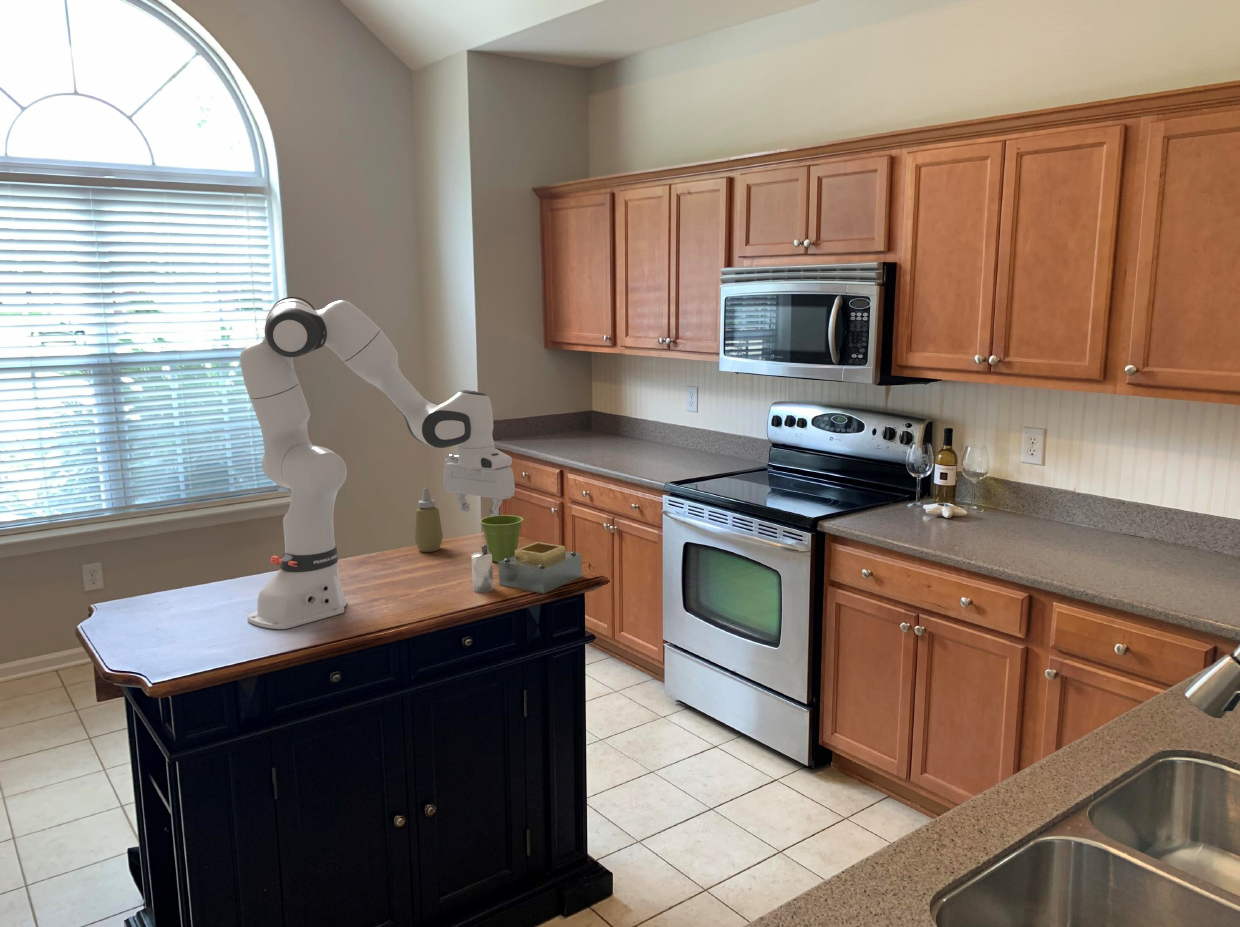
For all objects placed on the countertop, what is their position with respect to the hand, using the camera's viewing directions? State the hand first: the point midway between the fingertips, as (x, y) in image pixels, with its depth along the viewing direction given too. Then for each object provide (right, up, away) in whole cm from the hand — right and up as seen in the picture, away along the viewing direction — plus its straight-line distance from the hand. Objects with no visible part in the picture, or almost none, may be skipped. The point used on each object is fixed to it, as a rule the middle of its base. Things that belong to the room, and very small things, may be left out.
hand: (479, 513), depth 232 cm
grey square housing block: (+14, -18, +10) cm, 25 cm away
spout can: (0, -19, +4) cm, 19 cm away
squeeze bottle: (-20, -13, +41) cm, 47 cm away
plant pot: (+2, -14, +29) cm, 33 cm away
